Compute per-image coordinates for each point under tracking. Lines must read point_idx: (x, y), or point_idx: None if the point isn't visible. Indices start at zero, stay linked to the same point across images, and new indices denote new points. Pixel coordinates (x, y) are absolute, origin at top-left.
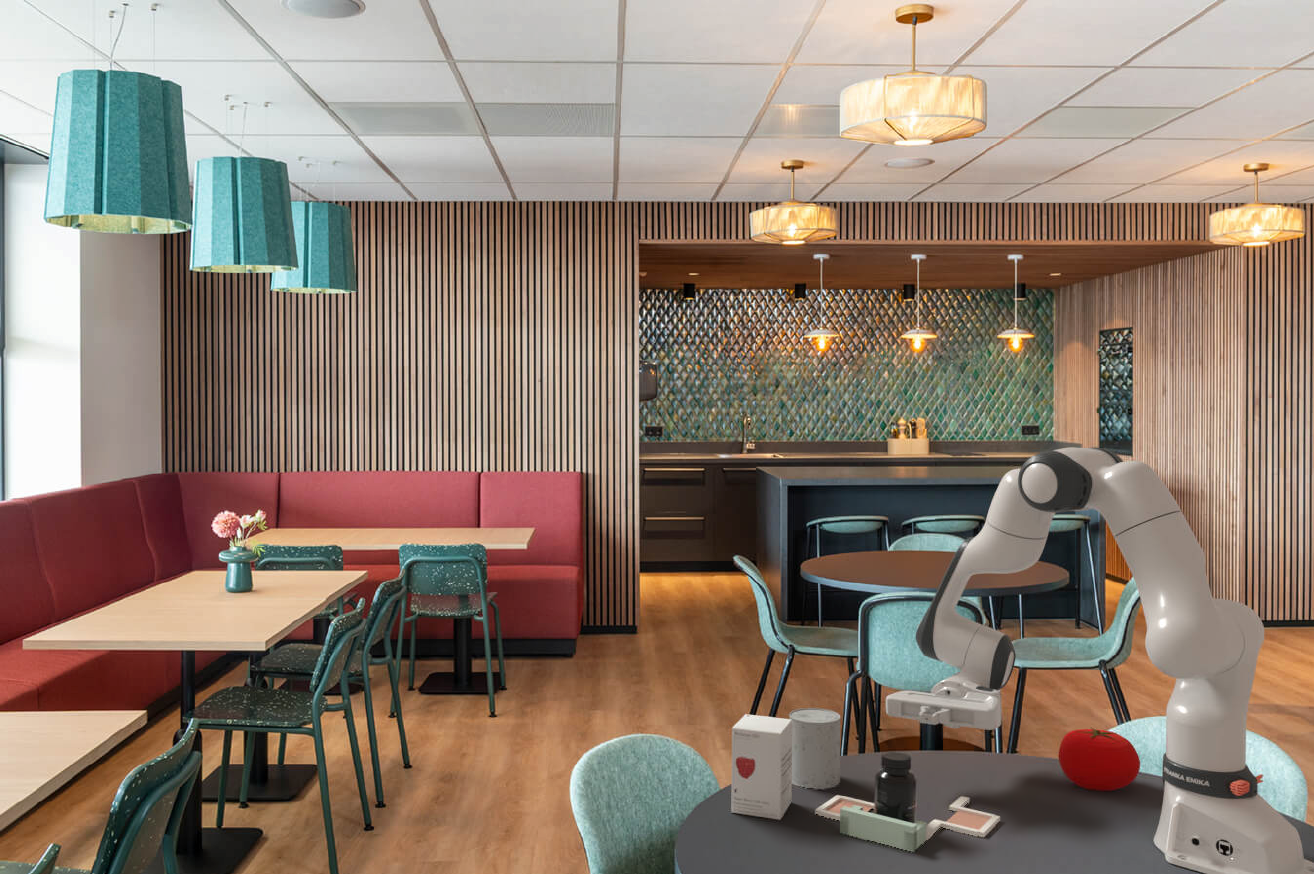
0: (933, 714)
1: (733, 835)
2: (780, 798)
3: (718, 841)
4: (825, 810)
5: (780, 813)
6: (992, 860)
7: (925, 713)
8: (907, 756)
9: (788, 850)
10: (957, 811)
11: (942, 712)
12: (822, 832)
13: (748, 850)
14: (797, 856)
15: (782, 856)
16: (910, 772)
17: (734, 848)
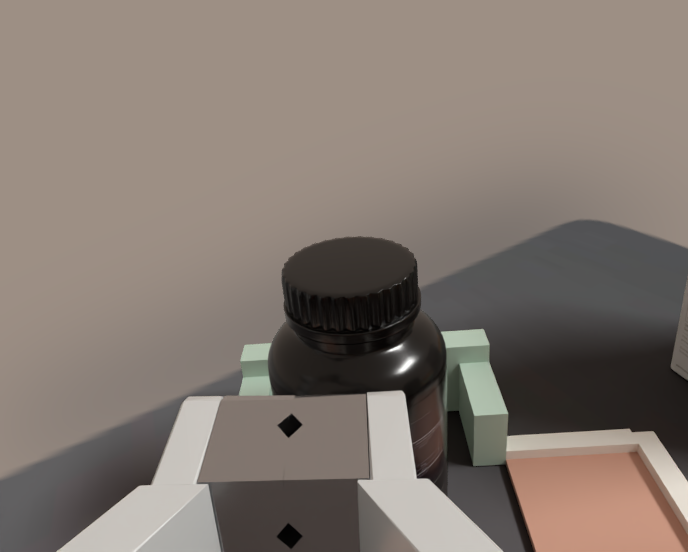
0: (208, 399)
1: (644, 281)
2: (681, 312)
3: (633, 260)
4: (624, 443)
5: (674, 353)
6: (25, 480)
7: (322, 400)
8: (302, 280)
9: (502, 293)
10: None
11: (80, 539)
12: (521, 374)
13: (557, 265)
14: (468, 288)
15: (490, 277)
16: (294, 342)
17: (583, 259)
